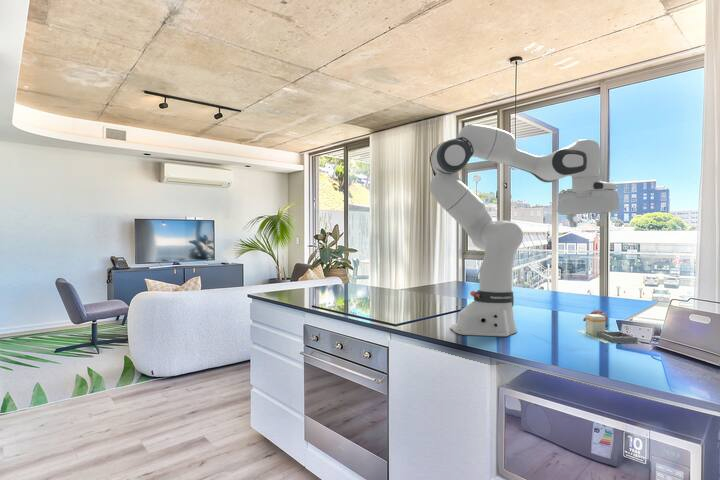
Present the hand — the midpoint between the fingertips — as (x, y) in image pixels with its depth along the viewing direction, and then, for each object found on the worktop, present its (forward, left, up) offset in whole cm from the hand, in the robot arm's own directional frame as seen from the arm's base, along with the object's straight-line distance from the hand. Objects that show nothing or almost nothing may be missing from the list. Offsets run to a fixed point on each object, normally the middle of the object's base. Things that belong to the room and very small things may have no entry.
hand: (586, 226), depth 142 cm
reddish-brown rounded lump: (+10, +12, -37) cm, 40 cm away
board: (+1, -9, -37) cm, 38 cm away
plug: (0, -5, -36) cm, 36 cm away
